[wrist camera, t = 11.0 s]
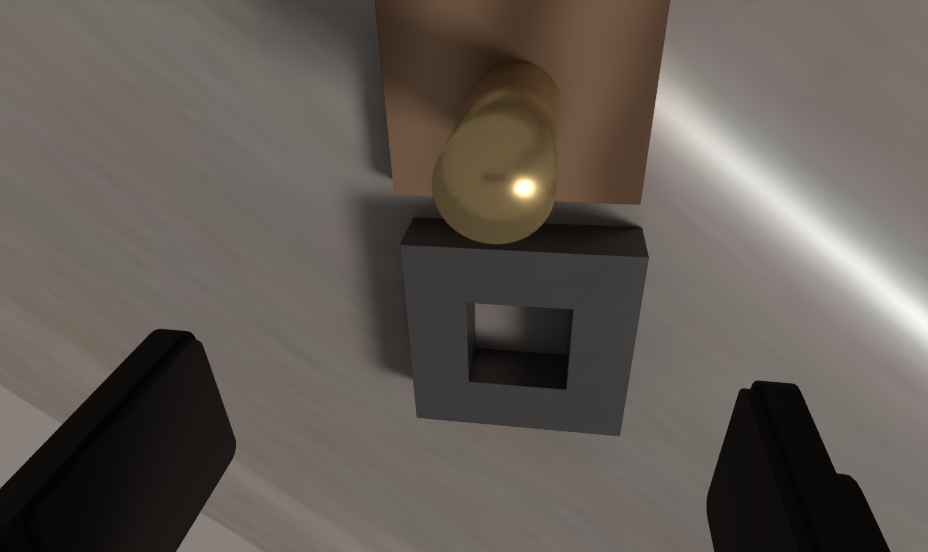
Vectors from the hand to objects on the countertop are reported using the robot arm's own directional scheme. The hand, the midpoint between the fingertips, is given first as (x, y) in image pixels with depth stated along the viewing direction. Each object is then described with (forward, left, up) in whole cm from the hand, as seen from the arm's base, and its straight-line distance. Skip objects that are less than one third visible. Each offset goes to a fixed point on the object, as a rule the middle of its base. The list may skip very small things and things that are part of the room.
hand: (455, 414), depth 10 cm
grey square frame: (0, +13, -21) cm, 24 cm away
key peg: (0, 0, -19) cm, 19 cm away
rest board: (0, 0, -21) cm, 21 cm away
